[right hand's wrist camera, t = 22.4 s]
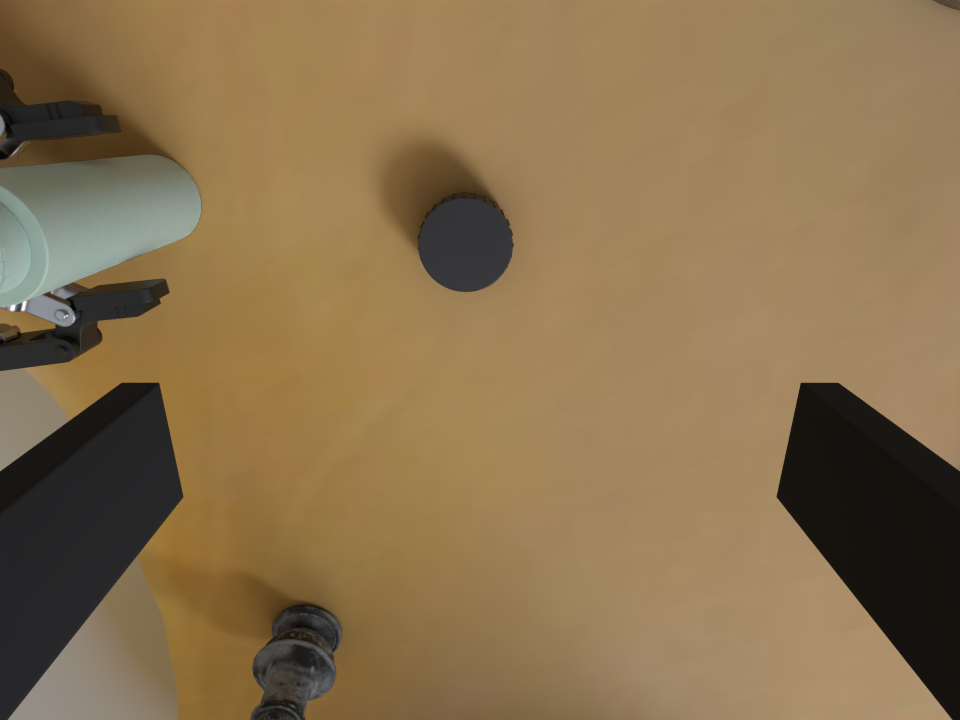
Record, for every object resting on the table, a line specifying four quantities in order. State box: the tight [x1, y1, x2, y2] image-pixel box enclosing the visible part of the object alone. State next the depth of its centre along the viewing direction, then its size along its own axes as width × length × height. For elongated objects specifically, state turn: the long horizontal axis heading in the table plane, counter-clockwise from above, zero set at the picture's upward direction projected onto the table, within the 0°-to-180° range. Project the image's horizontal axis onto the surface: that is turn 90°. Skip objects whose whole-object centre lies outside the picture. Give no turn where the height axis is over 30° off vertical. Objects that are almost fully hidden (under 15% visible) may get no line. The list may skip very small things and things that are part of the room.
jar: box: [0, 154, 201, 307], centre depth 27 cm, size 5×5×16 cm
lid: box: [418, 192, 514, 292], centre depth 34 cm, size 5×5×2 cm
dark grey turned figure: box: [250, 606, 342, 720], centre depth 41 cm, size 6×6×12 cm
